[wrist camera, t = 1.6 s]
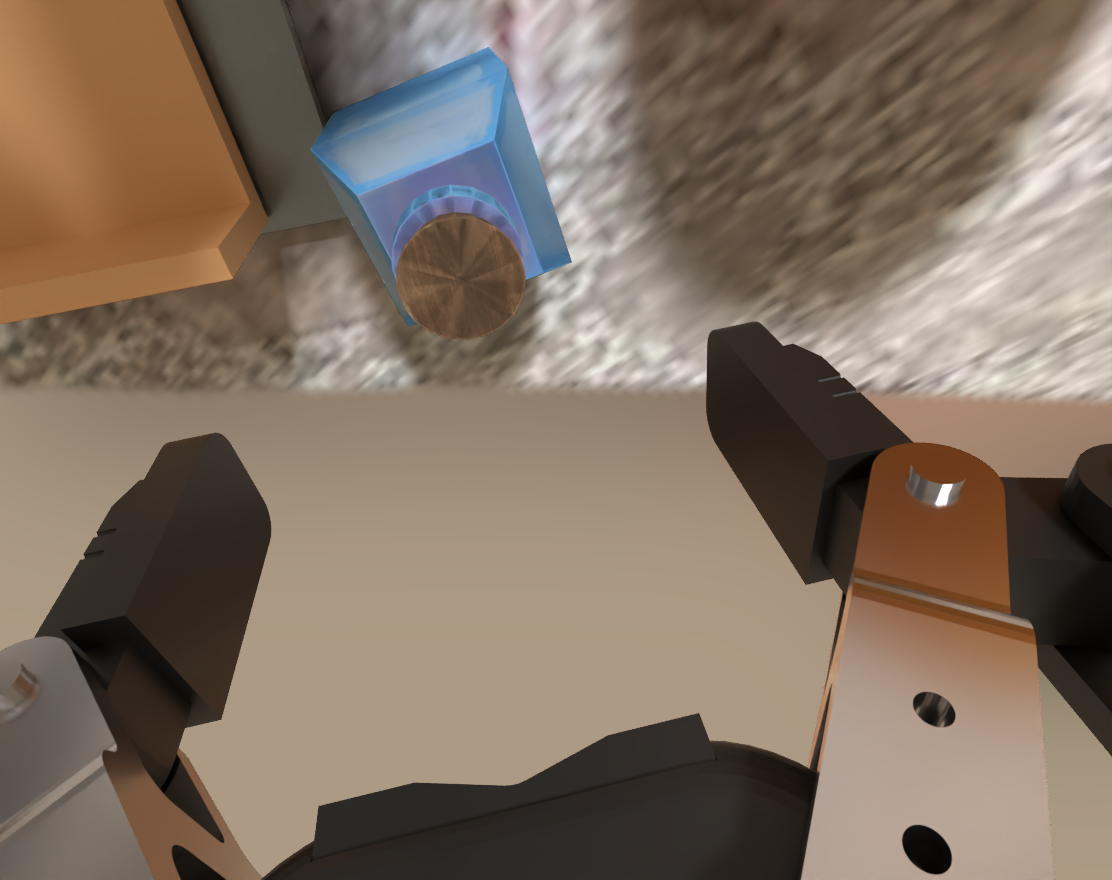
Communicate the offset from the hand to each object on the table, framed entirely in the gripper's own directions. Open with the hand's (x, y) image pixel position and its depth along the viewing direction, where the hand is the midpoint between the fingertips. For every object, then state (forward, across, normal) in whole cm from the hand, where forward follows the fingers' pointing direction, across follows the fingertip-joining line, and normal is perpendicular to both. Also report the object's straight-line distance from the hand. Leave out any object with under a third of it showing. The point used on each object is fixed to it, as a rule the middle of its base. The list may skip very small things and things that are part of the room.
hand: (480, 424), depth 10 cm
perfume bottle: (+18, 0, 0) cm, 18 cm away
